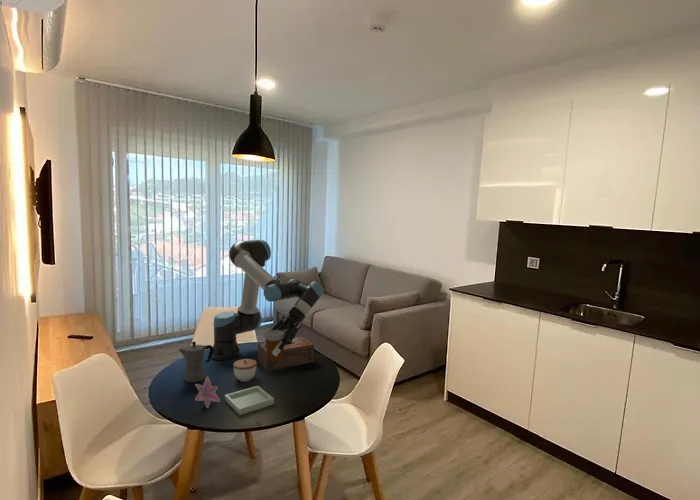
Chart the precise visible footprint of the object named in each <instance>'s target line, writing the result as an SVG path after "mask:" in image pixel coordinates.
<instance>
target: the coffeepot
mask: <svg viewBox="0 0 700 500" xmlns="http://www.w3.org/2000/svg"><path fill="white" fill-rule="evenodd" d="M196 343H197V342H196V341H192V342H191V345H188V346H187V345H186V346H185V347H182V348H180V349H178V352H180V354H182V356H183V357H184V361H185V363H186V367H185V372H184V376H183V377H184V378H183V379H184V381H185V382H186V383H197V382H200V381H203V380H205V378H206V374H205V369H204V365H203V360H204V353H205V351H206V350H209V353H208V355H207V356H208V357H207V359H206V360H204V362H205V363H210V361H211V360H212V358H211V357H212V354H213V351H214V348H213V345H211V344H206V345H202V344H196Z"/></svg>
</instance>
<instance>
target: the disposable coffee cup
mask: <svg viewBox="0 0 700 500" xmlns="http://www.w3.org/2000/svg"><path fill="white" fill-rule="evenodd" d="M285 333H286V331H285V330H283V331H282V330H271V329H269V330H267V331H266V332H265V333H264V340H265V342H266V346H267V354H268V360H270V361H279V360H281V359H282V357H283V349H284V347H283V349H282V350H281V351H280V352H279V354H278V355H277V356H274V355H273V354H272V352H273V350H274V349H275V348H276V346H277V345H278V344H279V342H280V341H281V340H282V339H283V338H284V335H285ZM282 342H283V341H282Z"/></svg>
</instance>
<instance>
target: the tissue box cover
mask: <svg viewBox="0 0 700 500" xmlns="http://www.w3.org/2000/svg"><path fill="white" fill-rule="evenodd" d="M289 341H290V340H289ZM264 343H265V342H261V343H257V362H258V363H259V364H260V365H261V367H262V368H263V369H264V370H265V371H266V372H269V370H270V371H274V369H275V370H280V369H285V368H284V367H286V368H290V366H291V367H295V365H296V366H300V365H306V364H311V363H314V361H315V360H314V354H315V353H314V351H315V350H314V349H315V346H314V343H313V342H311V341H310V340H309V339H307V337H304V336H301V337H299V336H298V337H294V338H293V340H292V342H291V344H286V345H285V346H284V349H283V357H282V359H281V360H279V361H270V360H268V354H267V350H265V349H263V348H262V346H263V344H264ZM279 368H280V369H279Z"/></svg>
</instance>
